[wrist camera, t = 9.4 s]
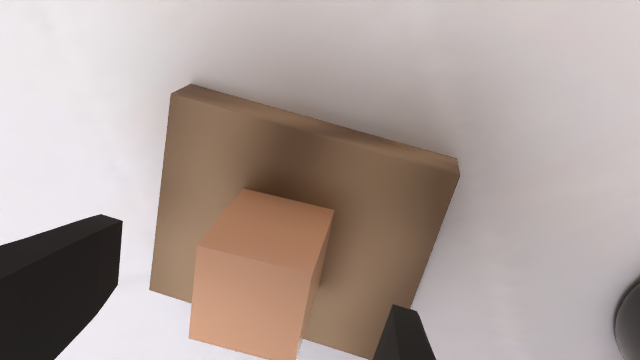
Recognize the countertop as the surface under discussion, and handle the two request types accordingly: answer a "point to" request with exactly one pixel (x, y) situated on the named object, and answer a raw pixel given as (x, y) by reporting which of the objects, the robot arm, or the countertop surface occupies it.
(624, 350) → the supplement bottle
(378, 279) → the walnut board
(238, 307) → the terracotta block
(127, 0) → the countertop surface
